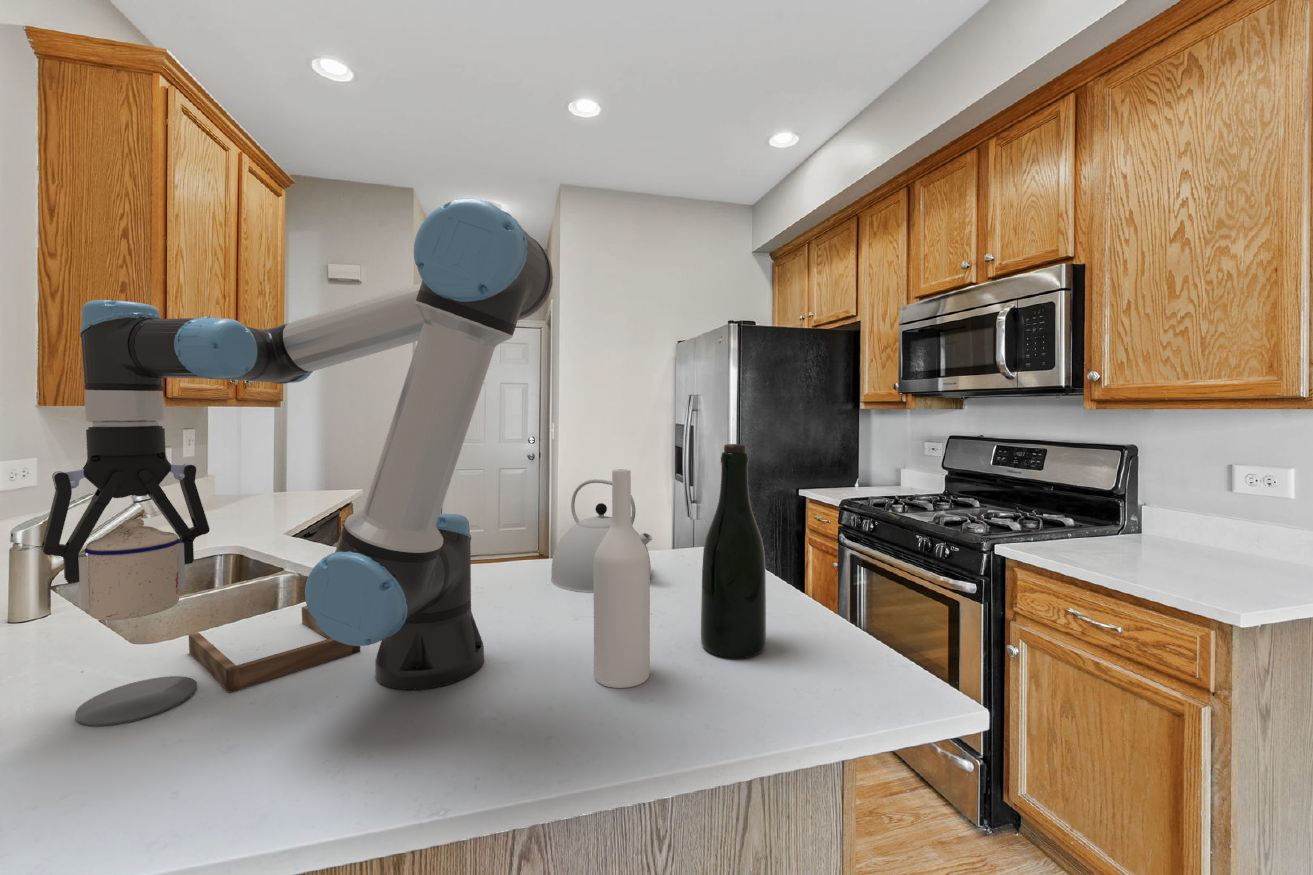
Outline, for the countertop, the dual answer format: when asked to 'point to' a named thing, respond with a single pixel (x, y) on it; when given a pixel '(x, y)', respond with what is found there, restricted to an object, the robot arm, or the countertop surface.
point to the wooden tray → (267, 659)
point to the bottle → (621, 596)
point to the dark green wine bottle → (733, 568)
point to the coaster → (136, 701)
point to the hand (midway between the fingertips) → (134, 597)
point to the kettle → (583, 547)
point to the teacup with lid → (133, 572)
